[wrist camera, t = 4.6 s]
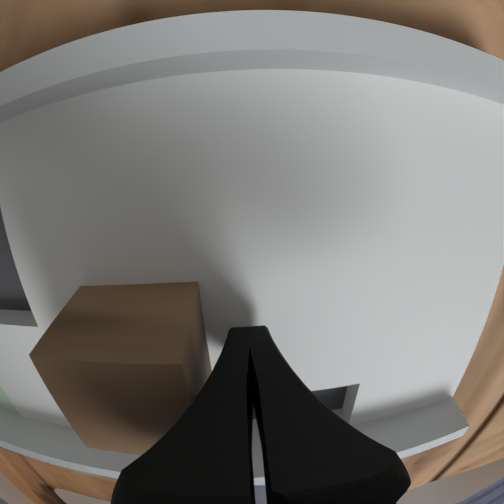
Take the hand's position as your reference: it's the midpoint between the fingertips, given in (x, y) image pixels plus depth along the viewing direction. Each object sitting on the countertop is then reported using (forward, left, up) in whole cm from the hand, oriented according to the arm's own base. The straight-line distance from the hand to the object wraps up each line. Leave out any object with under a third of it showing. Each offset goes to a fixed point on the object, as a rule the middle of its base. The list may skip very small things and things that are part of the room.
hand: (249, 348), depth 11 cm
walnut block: (0, +4, -1) cm, 4 cm away
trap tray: (+1, +5, -2) cm, 5 cm away
